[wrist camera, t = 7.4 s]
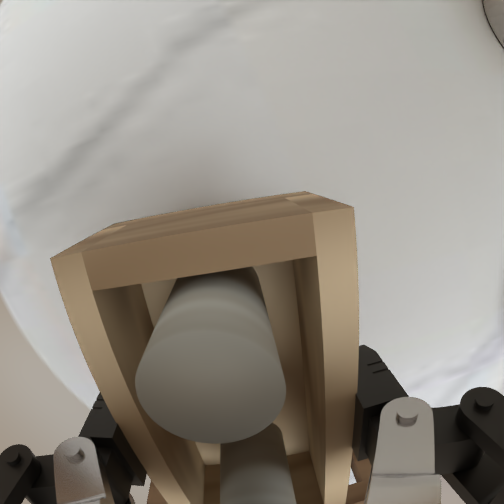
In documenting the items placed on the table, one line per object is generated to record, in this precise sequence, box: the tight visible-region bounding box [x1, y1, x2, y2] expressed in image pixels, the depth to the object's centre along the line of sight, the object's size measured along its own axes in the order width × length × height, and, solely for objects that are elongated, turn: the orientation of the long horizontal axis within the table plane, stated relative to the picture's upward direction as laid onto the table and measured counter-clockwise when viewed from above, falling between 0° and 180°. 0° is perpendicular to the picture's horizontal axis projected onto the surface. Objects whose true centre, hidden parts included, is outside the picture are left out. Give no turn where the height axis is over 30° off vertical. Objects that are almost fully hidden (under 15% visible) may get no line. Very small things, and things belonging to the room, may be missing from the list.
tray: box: [50, 191, 359, 504], centre depth 8 cm, size 11×6×6 cm, turn 9°
